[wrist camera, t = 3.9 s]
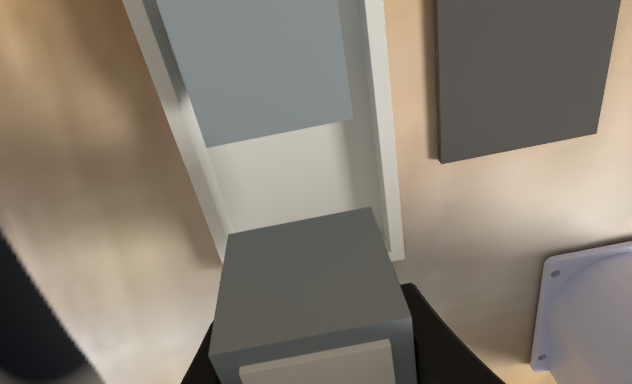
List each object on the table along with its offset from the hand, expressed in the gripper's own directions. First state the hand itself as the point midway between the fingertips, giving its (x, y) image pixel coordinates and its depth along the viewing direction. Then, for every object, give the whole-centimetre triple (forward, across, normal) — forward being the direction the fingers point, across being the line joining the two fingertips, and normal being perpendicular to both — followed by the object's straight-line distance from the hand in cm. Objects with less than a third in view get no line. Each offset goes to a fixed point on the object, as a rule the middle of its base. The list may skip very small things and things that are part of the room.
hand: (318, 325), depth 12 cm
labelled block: (+2, 0, 0) cm, 2 cm away
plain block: (+8, 0, -7) cm, 10 cm away
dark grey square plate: (+8, -10, -4) cm, 13 cm away
